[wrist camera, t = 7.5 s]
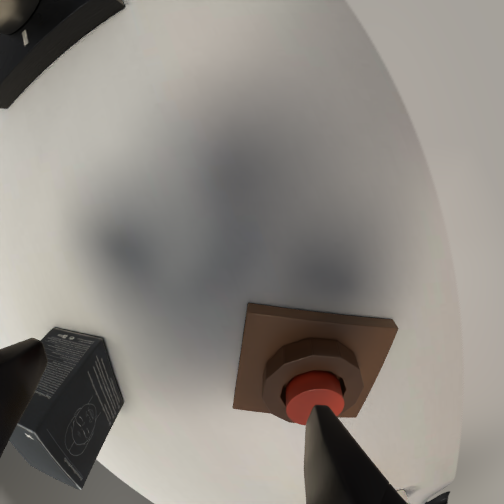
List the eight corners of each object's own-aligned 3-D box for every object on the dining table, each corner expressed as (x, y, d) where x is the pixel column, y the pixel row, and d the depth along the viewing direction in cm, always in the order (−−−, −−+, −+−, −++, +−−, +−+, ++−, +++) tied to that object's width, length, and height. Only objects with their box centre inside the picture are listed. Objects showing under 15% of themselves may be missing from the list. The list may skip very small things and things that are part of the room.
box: (52, 325, 21) (-20, 402, 11) (104, 336, 21) (34, 433, 11) (77, 391, 24) (28, 467, 14) (125, 404, 24) (82, 493, 14)
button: (347, 371, 17) (352, 390, 16) (331, 408, 19) (334, 426, 17) (291, 367, 17) (293, 386, 16) (280, 405, 19) (280, 424, 17)
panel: (95, -60, 10) (76, -76, 7) (125, 7, 13) (102, -11, 10) (-8, 30, 12) (-31, 25, 10) (7, 108, 15) (-21, 109, 12)
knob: (46, 3, 10) (4, -14, 6) (3, 46, 11) (-40, 39, 7) (39, -29, 9) (4, -46, 5) (-1, 11, 10) (-39, 1, 6)
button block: (393, 319, 19) (408, 344, 16) (353, 407, 22) (360, 434, 19) (248, 302, 19) (243, 328, 16) (234, 398, 22) (229, 426, 19)
